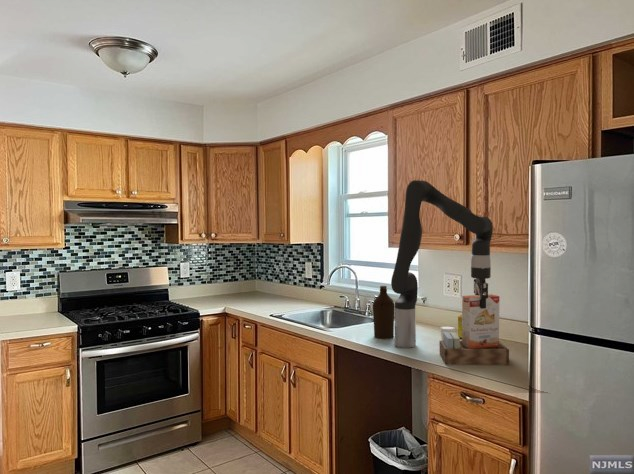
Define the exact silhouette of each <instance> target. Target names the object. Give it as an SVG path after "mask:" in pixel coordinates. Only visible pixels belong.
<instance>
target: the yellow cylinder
mask: <svg viewBox="0 0 634 474" xmlns="http://www.w3.org/2000/svg"><path fill="white" fill-rule="evenodd" d="M457 331H458V332H457V335H458V337H459V338H460V340H462V314H461V315H458V316H457Z"/></svg>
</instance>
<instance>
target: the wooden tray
mask: <svg viewBox="0 0 634 474" xmlns="http://www.w3.org/2000/svg"><path fill="white" fill-rule="evenodd" d="M439 356H440V358H441V360H442V361H443V363H444V365H466V366H467V365H470V366H471V365H474V366H475V365H478V366H479V365H483V366H484V365H485V366H486V365H489V366H495V365H497V366H509V365H510V349H509V348H508V347H507V346H506V345H504V343H502V342H501V341H500V340H499V346H498V347H487V348H476V349H468V348H466V347H464V346H462V340H460V349H447V348H446V346H445V345H444V343H443V341H442V340H439Z"/></svg>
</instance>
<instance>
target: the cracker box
mask: <svg viewBox="0 0 634 474" xmlns="http://www.w3.org/2000/svg"><path fill="white" fill-rule="evenodd" d="M500 298H501V297H500V296H499V295H497V294H492V293H491V294H490V293H488V298H487V299H486V308H485V309H481V308H480V295H475V294H474V295H462V301H461V302H462V303H461V304H462V305H461V307H462V310H461V315H462V339H461V341H462V346H464V347H466V348H468V349H476V348H487V347H498V346H499V341H500V340H499V339H500Z"/></svg>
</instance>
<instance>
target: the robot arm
mask: <svg viewBox="0 0 634 474" xmlns="http://www.w3.org/2000/svg"><path fill="white" fill-rule="evenodd" d="M404 197H405V198H404V199H405V200H404V212H403V219H402V226H401V231H400V236H399V245H398V251H397V255H396V261H395V264H394V265H395V266H394V269H393V273H392V275H391V276H392V277H391V282H390V284H391V289H392V291H393V292H394V293H395V294H398V295H399V296H398V298H397V300H396V301H395V302H394V306H395V307H394V346H395V347H397V348H405V349H406V348H414V347H416V344H417V341H416V339H417V334H416V333H417V330H416V329H417V328H416V327H417V326H416V324H417V323H416V319H417V318H416V317H417V316H416V305H417V303H418V285H419V284H418V279H417V277H416V275H415V274H414V273H413V272H410V268H411V264H412V262H413V260H414V259H415V258H416V257H415V256H416V255H417V254H418V252H419V249H420V247H421V242H422V237H423V227H422V222H421V218H420V217H421V216H420V215H421V214H420V212H421V207H422V206H421V205H422V202H425V203H428V204H430V205H432V206H435V207H436V208H438V209H439V210H440V211H441V212H442V213H443V214H444V216H445V215H446V216H447V217H448V218H450V219H452V220H453V221H455V222H457V223H458V224H461V226H463V227H464V228H465V229H466V230H468V231H469V232H470V233H473V234H475V238H474V240H473V241H472V243H471V256H470V257H471V258H470V276H471V278H473V293H474V295H480V308H481V309H485V308H486V299H487V298H488V294H489V283H488V282H486V279H490V278H491V271H492V270H491V265H492V264H491V241H492V236H493V232H494V231H493V230H494V227H493V226H494V225H493V222H492V220H491V219H490V218H489V217H487V216H479V215H477V214H475V213H473V212H472V210H471V209H470V208H469V207H466V206H465V205H463V204H461V203H459V202H457V201H455V200H454V199H452V198H450V197H448V196H447V195H445V194H444V193H442V192H441V191H440V190H438V189H437V188H436V187H435V186H433V184H431V183H430V182H428V181H426V180H421V179H420V180H419V179H418V180H417V179H415V180H411V181H409V183H408V184H407V187H406V189H405V196H404Z"/></svg>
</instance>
